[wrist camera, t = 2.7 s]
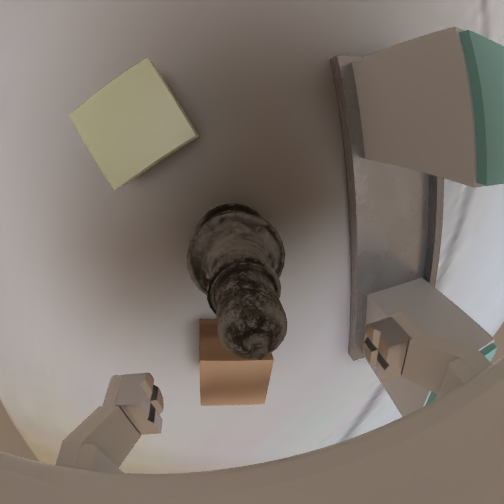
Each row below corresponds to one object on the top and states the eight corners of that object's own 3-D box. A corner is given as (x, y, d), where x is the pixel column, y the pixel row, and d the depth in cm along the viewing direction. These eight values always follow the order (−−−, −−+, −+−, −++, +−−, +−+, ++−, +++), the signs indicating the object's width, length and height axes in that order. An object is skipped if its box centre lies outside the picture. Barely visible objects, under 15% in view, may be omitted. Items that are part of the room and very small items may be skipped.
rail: (330, 59, 16) (343, 51, 14) (415, 66, 17) (432, 62, 15) (348, 353, 27) (357, 367, 25) (412, 329, 27) (423, 341, 25)
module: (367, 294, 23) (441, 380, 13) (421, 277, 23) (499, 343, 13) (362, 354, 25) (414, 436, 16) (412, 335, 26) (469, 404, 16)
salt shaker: (279, 205, 20) (361, 289, 9) (265, 280, 22) (314, 405, 11) (194, 195, 19) (175, 277, 8) (187, 274, 21) (174, 406, 10)
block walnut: (199, 318, 23) (199, 360, 18) (261, 319, 24) (273, 359, 19) (199, 362, 25) (200, 405, 20) (254, 362, 25) (264, 403, 21)
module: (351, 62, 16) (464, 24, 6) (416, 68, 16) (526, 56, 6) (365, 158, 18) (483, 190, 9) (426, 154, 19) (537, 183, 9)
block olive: (100, 119, 16) (68, 115, 11) (162, 76, 16) (147, 57, 11) (136, 177, 18) (114, 190, 13) (199, 136, 18) (196, 135, 13)
